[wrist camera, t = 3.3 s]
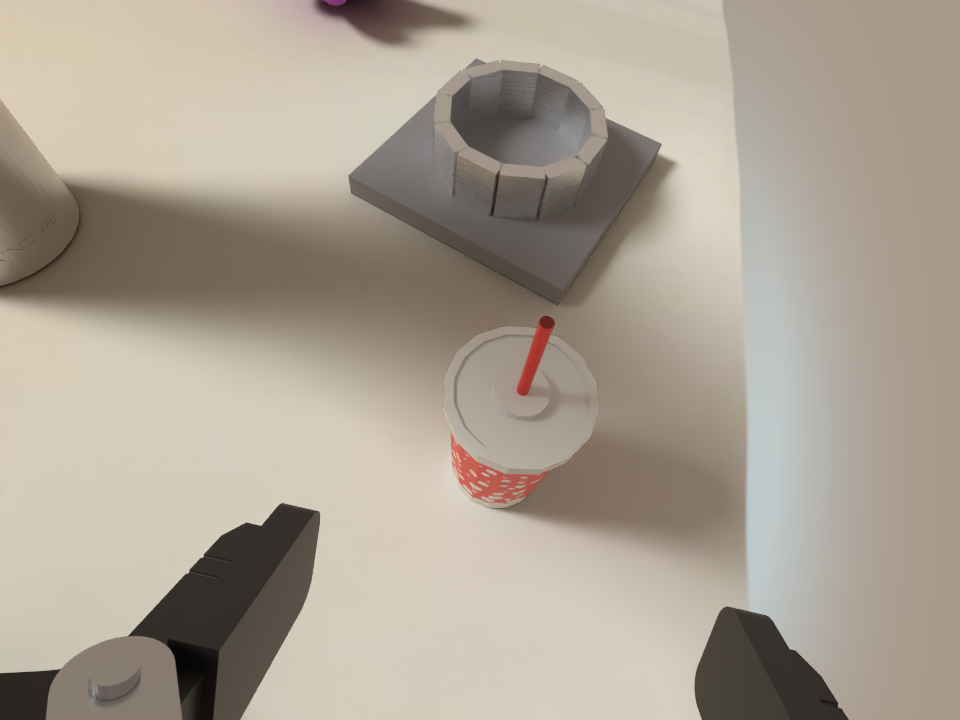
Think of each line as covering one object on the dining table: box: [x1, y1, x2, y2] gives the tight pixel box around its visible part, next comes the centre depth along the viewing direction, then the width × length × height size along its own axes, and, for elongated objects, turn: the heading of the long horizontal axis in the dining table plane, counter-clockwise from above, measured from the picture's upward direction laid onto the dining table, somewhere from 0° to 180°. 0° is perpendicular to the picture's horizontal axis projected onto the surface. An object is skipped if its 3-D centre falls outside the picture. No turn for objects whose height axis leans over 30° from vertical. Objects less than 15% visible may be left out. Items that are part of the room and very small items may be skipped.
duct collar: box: [433, 60, 608, 220], centre depth 36 cm, size 11×11×4 cm
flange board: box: [349, 59, 662, 305], centre depth 39 cm, size 16×16×2 cm
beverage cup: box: [443, 316, 600, 508], centre depth 23 cm, size 6×6×14 cm
